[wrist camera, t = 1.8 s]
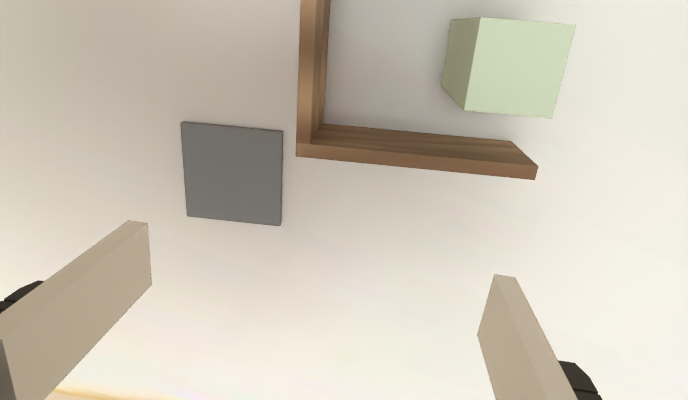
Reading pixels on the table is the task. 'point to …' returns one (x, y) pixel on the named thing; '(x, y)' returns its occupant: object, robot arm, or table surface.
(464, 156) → the brown wooden frame
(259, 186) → the mat
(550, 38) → the block
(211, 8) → the table surface
